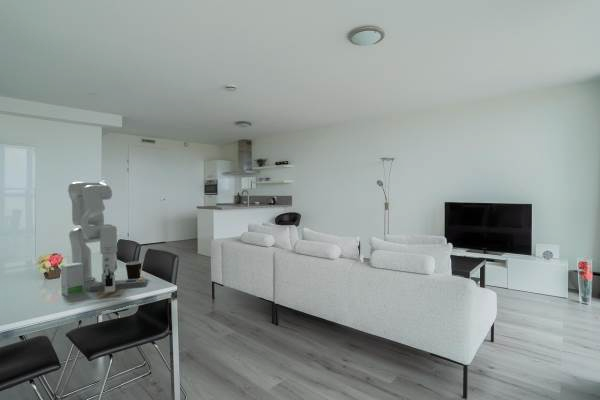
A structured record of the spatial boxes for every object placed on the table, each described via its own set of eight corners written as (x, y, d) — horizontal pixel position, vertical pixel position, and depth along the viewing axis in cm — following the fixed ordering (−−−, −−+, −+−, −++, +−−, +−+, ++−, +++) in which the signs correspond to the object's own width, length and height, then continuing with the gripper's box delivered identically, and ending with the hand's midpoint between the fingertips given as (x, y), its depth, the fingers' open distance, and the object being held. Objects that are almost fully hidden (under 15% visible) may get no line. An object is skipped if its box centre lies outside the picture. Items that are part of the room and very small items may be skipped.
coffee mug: (135, 281, 187) (134, 265, 186) (122, 281, 189) (122, 264, 188) (148, 276, 198) (148, 260, 198) (136, 275, 200) (136, 260, 200)
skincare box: (66, 297, 161) (65, 266, 161) (60, 294, 165) (59, 265, 164) (84, 292, 168) (83, 263, 168) (78, 290, 172) (77, 261, 171)
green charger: (102, 289, 172) (101, 274, 172) (103, 287, 175) (103, 272, 175) (110, 288, 173) (110, 273, 173) (111, 286, 177) (111, 272, 176)
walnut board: (95, 299, 157) (94, 298, 157) (100, 292, 168) (100, 291, 168) (120, 296, 161) (120, 295, 161) (124, 290, 171) (124, 289, 171)
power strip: (90, 292, 168) (89, 285, 168) (94, 287, 176) (94, 281, 176) (144, 286, 177) (144, 280, 177) (146, 282, 184) (145, 276, 184)
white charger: (105, 292, 162) (104, 276, 162) (106, 290, 165) (106, 275, 165) (113, 291, 163) (113, 276, 163) (115, 289, 166) (114, 274, 166)
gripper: (113, 252, 157) (114, 289, 158) (120, 246, 173) (121, 280, 173) (96, 253, 155) (97, 290, 155) (104, 247, 170) (105, 281, 171)
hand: (109, 284), depth 164 cm, fingers closed on white charger, 3 cm apart
